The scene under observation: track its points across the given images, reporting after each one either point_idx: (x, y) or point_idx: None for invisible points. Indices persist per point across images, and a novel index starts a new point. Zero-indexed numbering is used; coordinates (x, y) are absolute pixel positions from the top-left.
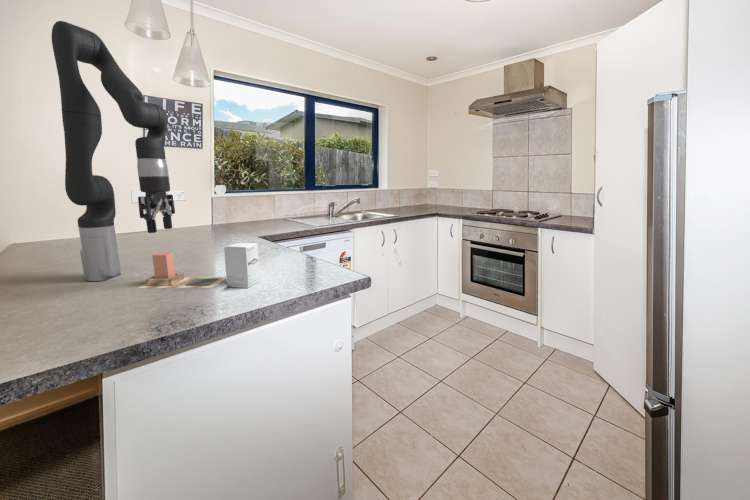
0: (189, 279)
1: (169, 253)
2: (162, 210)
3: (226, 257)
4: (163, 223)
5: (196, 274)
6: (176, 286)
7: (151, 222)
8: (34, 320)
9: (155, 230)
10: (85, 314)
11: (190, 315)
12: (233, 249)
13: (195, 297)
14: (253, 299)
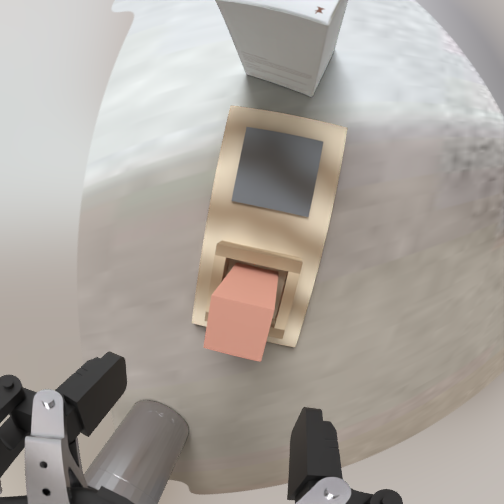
0: (231, 222)
1: (235, 304)
2: (77, 473)
3: (326, 45)
4: (110, 408)
5: (139, 226)
6: (311, 242)
7: (340, 467)
8: (416, 417)
9: (321, 415)
10: (427, 368)
11: (491, 169)
12: (341, 4)
13: (396, 171)
14: (420, 48)
